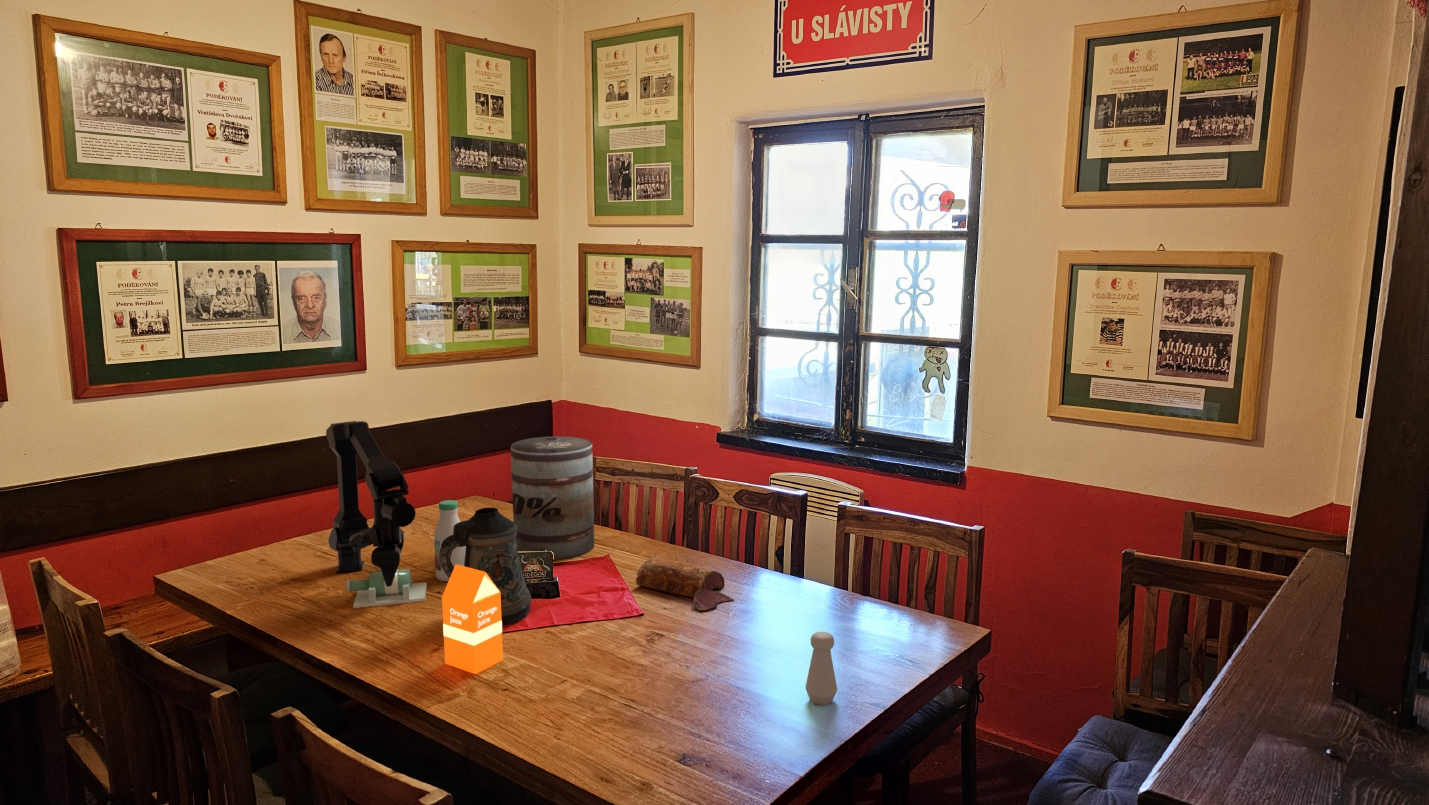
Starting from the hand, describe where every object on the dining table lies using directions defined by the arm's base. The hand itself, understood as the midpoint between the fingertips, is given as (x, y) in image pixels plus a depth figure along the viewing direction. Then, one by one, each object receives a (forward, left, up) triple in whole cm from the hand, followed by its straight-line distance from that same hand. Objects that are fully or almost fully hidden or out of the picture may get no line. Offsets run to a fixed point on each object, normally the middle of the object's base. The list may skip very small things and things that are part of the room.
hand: (390, 579), depth 214 cm
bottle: (0, -3, -3) cm, 4 cm away
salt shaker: (+76, +81, -4) cm, 111 cm away
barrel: (-27, +42, -4) cm, 50 cm away
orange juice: (+42, +19, -4) cm, 46 cm away
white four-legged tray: (0, 0, -4) cm, 4 cm away
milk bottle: (-10, +14, -4) cm, 18 cm away
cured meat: (+17, +70, -5) cm, 72 cm away
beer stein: (+19, +23, -4) cm, 30 cm away
